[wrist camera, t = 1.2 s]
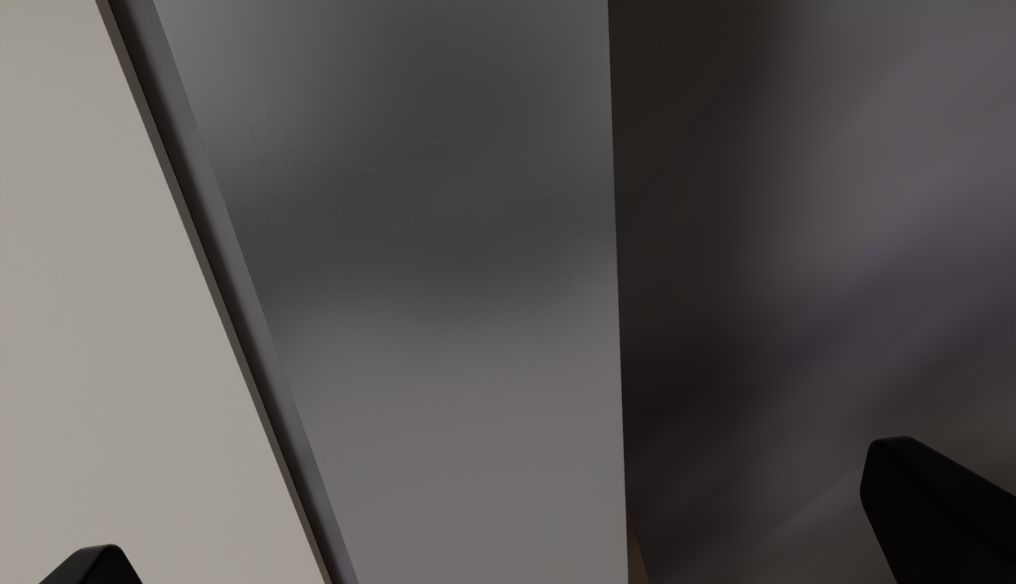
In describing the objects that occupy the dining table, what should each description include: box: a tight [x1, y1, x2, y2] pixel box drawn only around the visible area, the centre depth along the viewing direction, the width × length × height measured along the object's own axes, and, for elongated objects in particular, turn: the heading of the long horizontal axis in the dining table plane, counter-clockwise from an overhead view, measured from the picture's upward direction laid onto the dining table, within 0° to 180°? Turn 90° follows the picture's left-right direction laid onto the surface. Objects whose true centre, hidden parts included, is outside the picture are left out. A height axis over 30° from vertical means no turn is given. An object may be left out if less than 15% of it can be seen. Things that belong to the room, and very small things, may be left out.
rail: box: [153, 0, 628, 584], centre depth 9 cm, size 3×22×3 cm, turn 6°
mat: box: [0, 0, 332, 584], centre depth 13 cm, size 8×24×1 cm, turn 6°
